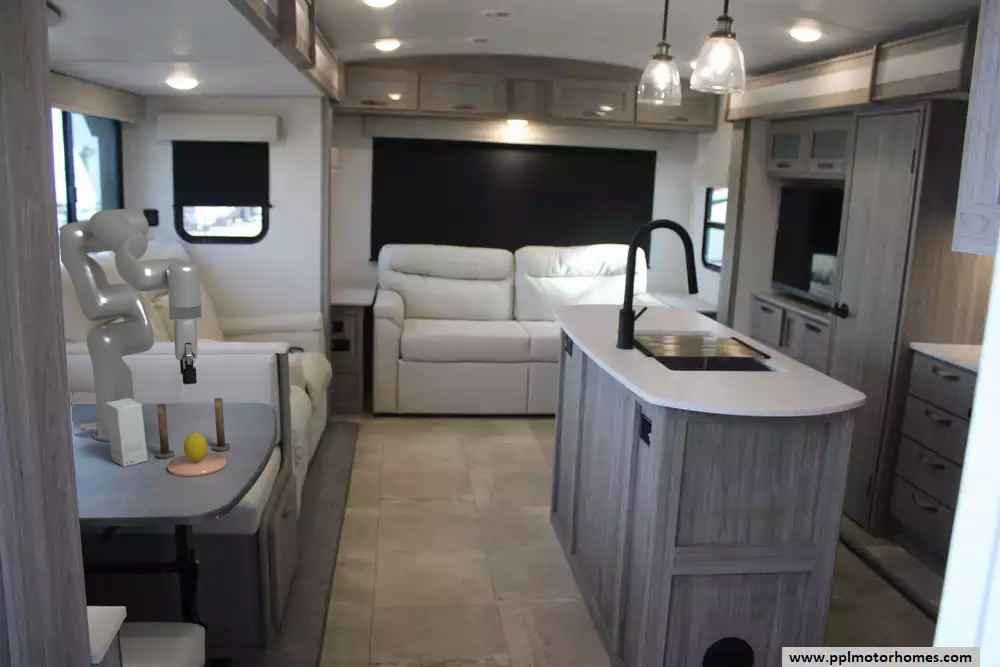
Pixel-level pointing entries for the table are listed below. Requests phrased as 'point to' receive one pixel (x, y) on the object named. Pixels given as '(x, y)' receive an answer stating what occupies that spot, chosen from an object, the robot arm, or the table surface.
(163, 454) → the left dowel
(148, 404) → the table surface
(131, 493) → the table surface
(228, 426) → the table surface
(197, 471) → the plate
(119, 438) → the skincare box
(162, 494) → the table surface
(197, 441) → the lemon
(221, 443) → the right dowel
